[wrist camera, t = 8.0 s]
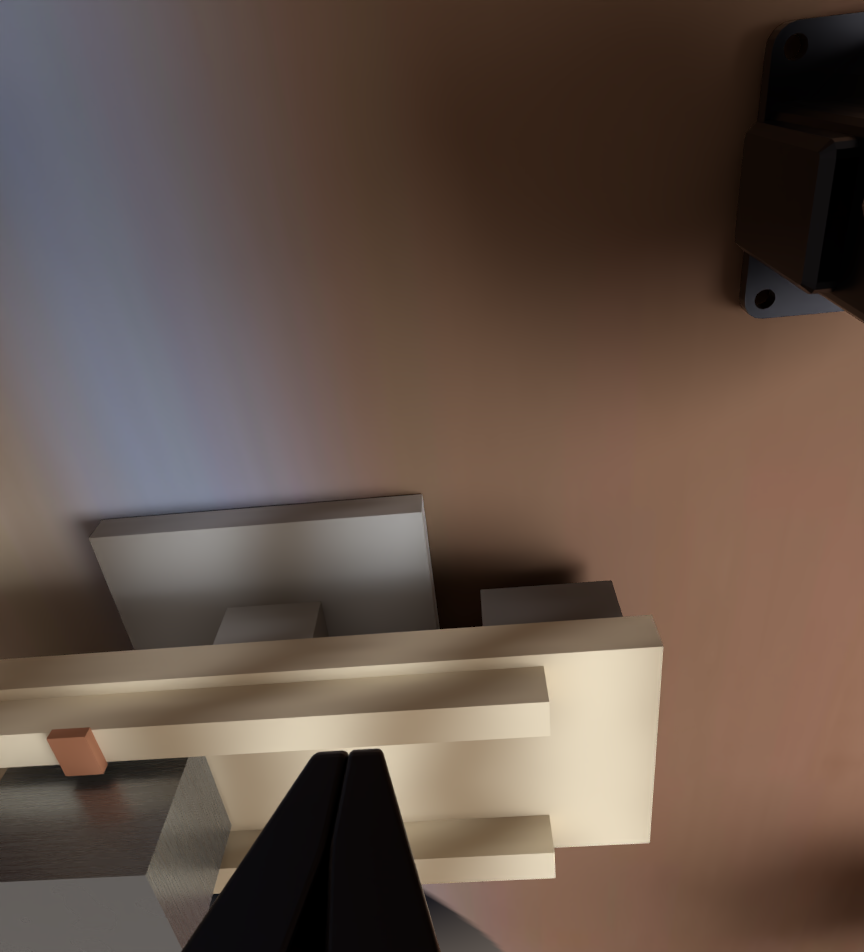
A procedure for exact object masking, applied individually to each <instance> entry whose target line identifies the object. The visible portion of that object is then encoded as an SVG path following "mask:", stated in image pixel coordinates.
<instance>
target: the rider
mask: <svg viewBox="0 0 864 952" xmlns="http://www.w3.org/2000/svg"><path fill="white" fill-rule="evenodd" d="M107 764H108V765H107V767H106V769H105V771H104V774H97V775H80V776H65V774H64V772H63V770H62V768H61V766H60V765H43V766H26V767H9V768H8V769H7V770H6V772H5V774H4V775H3V777H2V778H1V780H0V952H181V951H182V949H183V948H184V946H185V945H186V943H187V942H188V940H189V939H190V937H191V936H192V934H193V933H194V931H195V930H196V928H197V927H198V925H199V924H200V922H201V921H202V919H203V918H204V916H205V915H206V913H207V912H208V909H209V906H210V902H211V898H212V895H213V891H214V888H215V884H216V880H217V877H218V873H219V869H220V866H221V862H222V859H223V855H224V851H225V848H226V844H227V840H228V837H229V833H230V830H231V826H232V825H231V823H230V820H229V817H228V815H227V812H226V809H225V807H224V804H223V801H222V799H221V796H220V794H219V791H218V788H217V786H216V783H215V780H214V778H213V775H212V772H211V770H210V767H209V765H208V762H207V759H206V757H205V756H198V757H181V758H164V759H146V760H129V761H112V762H107Z"/></svg>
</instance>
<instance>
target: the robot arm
mask: <svg viewBox="0 0 864 952" xmlns="http://www.w3.org/2000/svg"><path fill="white" fill-rule="evenodd" d="M794 34H796V35H797V36H798V37H799V38H800V44H801V46H800V49H799V52H798V53H797V55H796V56H795V57H794V58H792V59H790V60H788V59H787V58H786V56H785V55H784V46H785V43H786V41H787V40H788V39H789V37H790V36H791V35H794ZM735 243H736V244H737V245H738V246H739V247H740V248H741V249H742V250H743V251H744V255H743V265H742V274H741V284H740V293H739V300H740V305H741V306H742V308H743V309H744V310H745V311H746V312H747V313H748V314H749V315H751V316H753V317H755V318H762V319H763V318H774V317H784V316H795V315H806V314H817V313H827V312H838V311H846V312H847V313H849V314H851V315H852V316H854V317H855V318H857V319H858V320H860V321H861V322H863V323H864V12H858V13H849V14H841V15H832V16H824V17H816V18H807V19H799V20H791V21H788V22H785V23H782V24H781V25H780V26H779V27H777V28H776V29H775V30H774V31H773V32H772V34H771V36H770V37H769V39H768V41H767V45H766V48H765V55H764V65H763V74H762V84H761V93H760V103H759V112H758V122H755V123H754V124H753V125H752V126H751V128H750V129H749V130H748V131H747V132H746V134H745V138H744V149H743V159H742V169H741V179H740V189H739V200H738V210H737V220H736V230H735ZM765 289H769V293H770V294H769V296H768V299H767V300H766V301H765V302H764V303H761V304H758V305H757V304H755V301H754V300H755V297H756V295H757V294H758V293H759V292H760V291H762V290H765ZM181 952H441V951H440V948H439V944H438V941H437V937H436V934H435V930H434V927H433V923H432V920H431V917H430V913H429V909H428V906H427V902H426V899H425V895H424V892H423V888H422V885H421V882H420V878H419V875H418V871H417V868H416V864H415V861H414V857H413V854H412V850H411V847H410V843H409V840H408V836H407V833H406V829H405V826H404V822H403V819H402V815H401V812H400V808H399V805H398V802H397V798H396V795H395V791H394V788H393V784H392V781H391V777H390V774H389V770H388V767H387V763H386V760H385V756H384V753H383V751H382V750H381V749H378V748H374V749H357V750H352V751H351V752H350V753H349V754H348V753H347V752H346V751H343V750H340V751H323V752H317V753H316V754H314V755H313V756H312V757H311V758H310V760H309V761H308V763H307V764H306V766H305V767H304V769H303V770H302V771H301V773H300V774H299V776H298V777H297V779H296V780H295V782H294V783H293V785H292V786H291V788H290V789H289V791H288V792H287V794H286V795H285V797H284V798H283V800H282V801H281V803H280V804H279V806H278V807H277V809H276V810H275V812H274V813H273V815H272V816H271V818H270V819H269V821H268V822H267V824H266V825H265V827H264V828H263V830H262V831H261V833H260V834H259V836H258V837H257V839H256V840H255V842H254V843H253V845H252V846H251V848H250V849H249V851H248V852H247V854H246V855H245V857H244V858H243V860H242V861H241V863H240V864H239V866H238V867H237V869H236V870H235V872H234V873H233V875H232V876H231V878H230V879H229V881H228V882H227V884H226V885H225V887H224V888H223V890H222V891H221V893H220V894H219V896H218V897H217V899H216V900H215V902H214V903H213V905H212V906H211V908H210V909H209V910H208V912H207V913H206V915H205V916H204V918H203V919H202V921H201V922H200V924H199V925H198V927H197V928H196V930H195V931H194V933H193V934H192V936H191V937H190V939H189V940H188V942H187V943H186V945H185V946H184V948H183V949H182V951H181Z"/></svg>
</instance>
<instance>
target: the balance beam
mask: <svg viewBox="0 0 864 952" xmlns="http://www.w3.org/2000/svg"><path fill="white" fill-rule="evenodd" d="M89 541H90V543H91V545H92V548H93V550H94V553H95V555H96V558H97V560H98V563H99V565H100V568H101V570H102V572H103V575H104V577H105V580H106V582H107V585H108V587H109V590H110V592H111V595H112V597H113V599H114V602H115V604H116V607H117V609H118V612H119V614H120V617H121V619H122V622H123V624H124V626H125V629H126V631H127V634H128V636H129V639H130V641H131V644H132V646H133V649H134V650H130V651H116V652H101V653H86V654H72V655H57V656H43V657H28V658H13V659H0V780H1V778H2V777H3V775H4V774H5V772H6V770H7V769H8V768H9V767H26V766H43V765H60V766H61V768H62V770H63V772H64V774H65V776H80V775H97V774H104V771H105V769H106V767H107V765H108V764H107V762H112V761H129V760H146V759H164V758H181V757H198V756H205V757H206V759H207V762H208V765H209V767H210V770H211V772H212V775H213V778H214V780H215V783H216V786H217V788H218V791H219V794H220V796H221V799H222V801H223V804H224V807H225V809H226V812H227V815H228V817H229V820H230V823H231V825H232V826H231V830H230V833H229V837H228V840H227V844H226V848H225V851H224V855H223V859H222V862H221V866H220V869H219V873H218V877H217V880H216V884H215V888H214V891H213V894H216V893H221V891H222V890H223V888H224V887H225V885H226V884H227V882H228V881H229V879H230V878H231V876H232V875H233V873H234V872H235V870H236V869H237V867H238V866H239V864H240V863H241V861H242V860H243V858H244V857H245V855H246V854H247V852H248V851H249V849H250V848H251V846H252V845H253V843H254V842H255V840H256V839H257V837H258V836H259V834H260V833H261V831H262V830H263V828H264V827H265V825H266V824H267V822H268V821H269V819H270V818H271V816H272V815H273V813H274V812H275V810H276V809H277V807H278V806H279V804H280V803H281V801H282V800H283V798H284V797H285V795H286V794H287V792H288V791H289V789H290V788H291V786H292V785H293V783H294V782H295V780H296V779H297V777H298V776H299V774H300V773H301V771H302V770H303V769H304V767H305V766H306V764H307V763H308V761H309V760H310V758H311V757H312V756H313V755H314V754H316V753H317V752H323V751H340V750H343V751H346V752H347V753H348V754H349V753H350V752H351V751H352V750H357V749H374V748H378V749H381V750H382V751H383V753H384V756H385V760H386V763H387V767H388V770H389V774H390V777H391V781H392V784H393V788H394V791H395V795H396V798H397V802H398V805H399V808H400V812H401V815H402V819H403V822H404V826H405V829H406V833H407V836H408V840H409V843H410V847H411V850H412V854H413V857H414V861H415V864H416V868H417V871H418V875H419V878H420V882H421V884H435V883H457V882H479V881H501V880H523V879H544V878H555V853H554V848H556V847H577V846H597V845H618V844H639V843H650V830H651V816H652V801H653V787H654V773H655V758H656V744H657V730H658V715H659V701H660V687H661V672H662V658H663V644H662V642H661V639H660V636H659V633H658V631H657V628H656V625H655V623H654V620H653V617H652V615H643V616H629V617H623V616H622V613H621V609H620V606H619V603H618V600H617V597H616V593H615V590H614V587H613V584H612V581H611V580H610V581H596V582H582V583H568V584H554V585H540V586H526V587H512V588H498V589H484V590H480V591H481V606H482V622H483V626H482V627H467V628H453V629H440V627H439V619H438V612H437V604H436V596H435V588H434V581H433V573H432V565H431V557H430V550H429V542H428V534H427V526H426V519H425V511H424V503H423V495H422V494H418V495H405V496H393V497H380V498H368V499H355V500H343V501H331V502H318V503H306V504H293V505H281V506H268V507H256V508H244V509H231V510H219V511H206V512H194V513H181V514H169V515H157V516H144V517H132V518H119V519H107V520H102V521H101V522H100V523H99V525H98V526H97V528H96V529H95V530H94V532H93V533H92V534H91V536H90V537H89Z"/></svg>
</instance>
